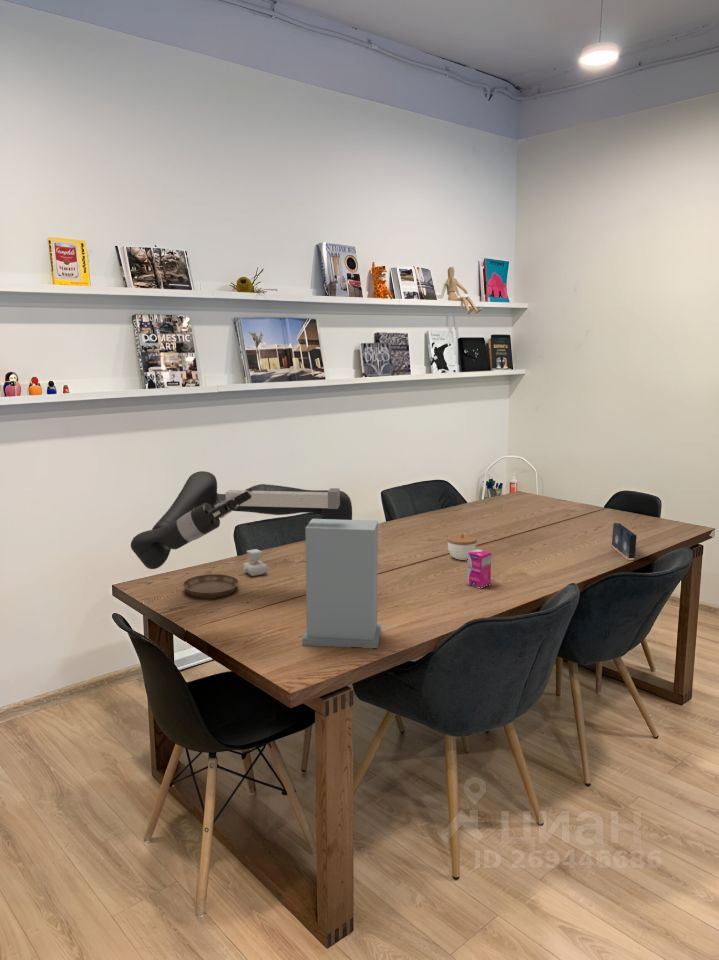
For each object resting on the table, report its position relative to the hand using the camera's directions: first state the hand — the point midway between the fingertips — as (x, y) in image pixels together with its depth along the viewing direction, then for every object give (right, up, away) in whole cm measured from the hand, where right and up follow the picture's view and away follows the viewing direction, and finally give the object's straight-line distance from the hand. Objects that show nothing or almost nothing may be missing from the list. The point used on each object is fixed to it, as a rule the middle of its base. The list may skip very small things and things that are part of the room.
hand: (251, 492), depth 198 cm
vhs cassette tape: (+129, -25, +85) cm, 156 cm away
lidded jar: (+67, -26, +79) cm, 106 cm away
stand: (+24, -40, +5) cm, 47 cm away
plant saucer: (-19, -33, +43) cm, 57 cm away
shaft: (+8, -3, 0) cm, 9 cm away
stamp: (-7, -29, +59) cm, 67 cm away
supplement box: (+68, -32, +48) cm, 90 cm away
